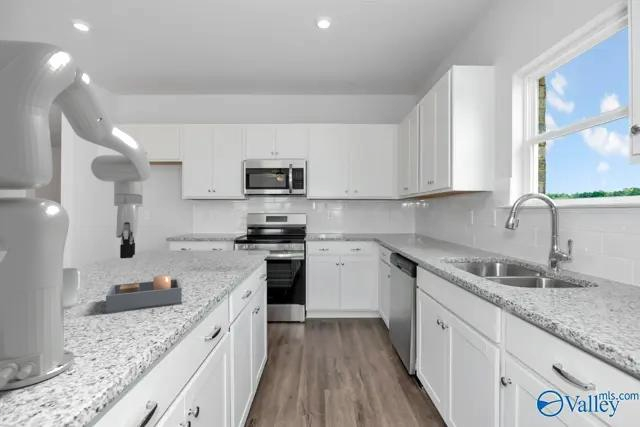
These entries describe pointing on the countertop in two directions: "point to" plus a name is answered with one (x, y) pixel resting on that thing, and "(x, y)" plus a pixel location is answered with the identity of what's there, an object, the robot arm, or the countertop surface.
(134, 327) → the countertop surface
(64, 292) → the mug
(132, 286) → the walnut cube
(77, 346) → the countertop surface
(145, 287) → the tote
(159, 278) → the terracotta cylinder
